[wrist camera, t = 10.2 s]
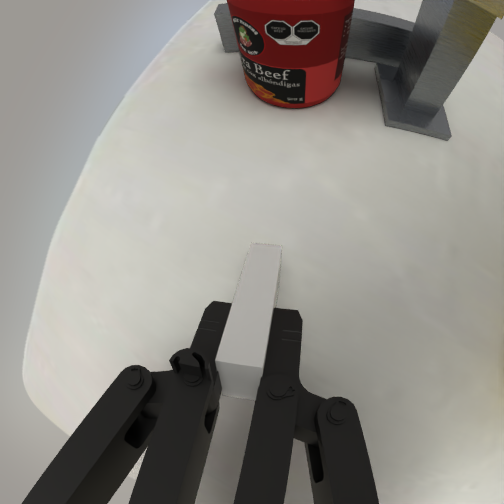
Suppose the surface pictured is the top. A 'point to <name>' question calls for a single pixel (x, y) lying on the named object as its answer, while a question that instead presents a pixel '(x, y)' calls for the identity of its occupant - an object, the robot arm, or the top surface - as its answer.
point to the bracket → (411, 56)
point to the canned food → (292, 47)
